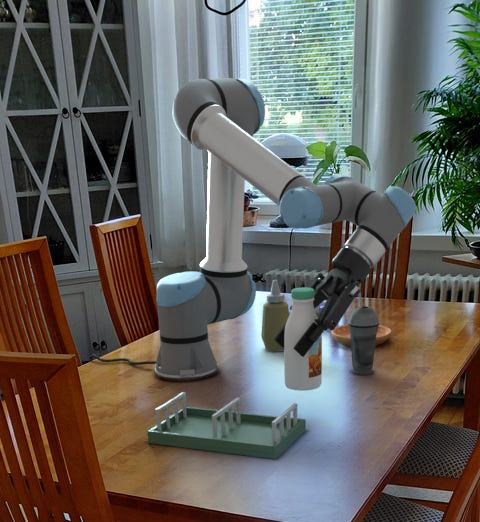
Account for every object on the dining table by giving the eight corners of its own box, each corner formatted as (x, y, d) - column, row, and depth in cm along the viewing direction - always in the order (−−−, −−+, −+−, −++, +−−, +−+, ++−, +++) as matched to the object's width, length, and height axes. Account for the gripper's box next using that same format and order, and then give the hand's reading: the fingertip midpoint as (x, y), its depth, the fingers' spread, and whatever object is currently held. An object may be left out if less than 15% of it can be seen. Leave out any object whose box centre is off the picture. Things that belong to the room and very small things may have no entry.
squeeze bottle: (297, 347, 232) (296, 278, 224) (282, 354, 226) (280, 284, 218) (271, 344, 236) (269, 276, 228) (255, 351, 230) (253, 282, 222)
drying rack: (148, 443, 171) (145, 412, 168) (186, 417, 184) (183, 388, 181) (275, 459, 160) (274, 426, 157) (305, 431, 173) (305, 400, 170)
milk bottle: (296, 393, 177) (296, 294, 168) (278, 384, 183) (276, 288, 174) (328, 387, 180) (329, 289, 171) (309, 378, 186) (309, 283, 178)
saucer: (394, 347, 228) (395, 336, 226) (333, 349, 228) (334, 338, 227) (386, 332, 242) (387, 322, 241) (329, 335, 243) (329, 324, 241)
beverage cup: (376, 376, 205) (379, 290, 196) (345, 375, 206) (347, 290, 198) (378, 367, 211) (381, 284, 203) (348, 367, 213) (349, 284, 204)
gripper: (397, 277, 169) (325, 371, 170) (341, 262, 186) (276, 347, 187) (375, 252, 165) (301, 348, 166) (320, 239, 182) (253, 326, 183)
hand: (288, 347), depth 177 cm, fingers closed on milk bottle, 8 cm apart
